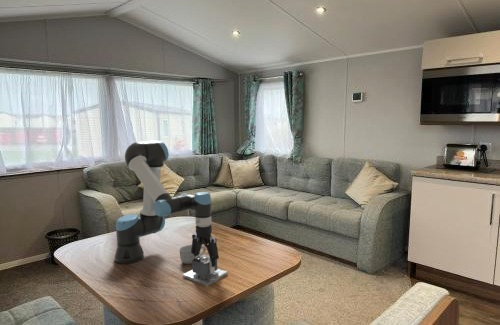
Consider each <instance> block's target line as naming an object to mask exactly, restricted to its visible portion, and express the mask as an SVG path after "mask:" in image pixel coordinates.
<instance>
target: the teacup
mask: <svg viewBox="0 0 500 325" xmlns="http://www.w3.org/2000/svg"><path fill="white" fill-rule="evenodd" d="M191 249H192V244H189V245H184V246H181V247H180V248H179V258H180V260H181V262H182V263H183V264H184V265H192V260H193V259H195V256H194V254H192V253H191ZM201 249H203V250H202V251H201ZM201 249H200V252H199V253H200V256H202V255H204V254H205V253H206V251H207V248H206V247H205V245H202V247H201ZM198 255H199V254H198Z"/></svg>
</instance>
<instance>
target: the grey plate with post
mask: <svg viewBox="0 0 500 325" xmlns="http://www.w3.org/2000/svg"><path fill="white" fill-rule="evenodd" d="M201 256H202V255H201ZM208 256H209V255H208ZM208 256H202V257H201V259H200V261H202V262H207V261H209V258H208ZM227 275H228V271H227V270H224V269H221V268H217V270H216V271H215V272H214V273H212V274H209V275H207V276H203V275H200V274H197V273H194V272H193V269H191V270H188V271H187V272H185V273H183V274H182V278H183V279H187V280H189V281H192V282H196V283H198V284H201V285H203V286H206V287H209V286H211V285H212V284H214V283H216V282H218V281H219V280H221V279H223V278H224V277H226V276H227Z"/></svg>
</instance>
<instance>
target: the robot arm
mask: <svg viewBox="0 0 500 325" xmlns="http://www.w3.org/2000/svg"><path fill="white" fill-rule="evenodd" d="M169 157H170V154H169V148H168V147H167V145H166V143H164V142H163V141H161V140H150V141H149V140H148V141H136V142H133V143H130V145H129V146H128V147H127V148H126V151H125V154H124V160H125V161H124V162H125V164H126V166H127V167H128V168H129V170H131V171H133V173H134V174H135V175H136V177H137V178H138V180H139V181H140V183H141V184H142V186H143V198H142V200H143V202H142V203H143V204H142V208H141V209H140V212H139V215H138V214H135V213H134V214H127V215H123V216H121V217H119V218H117V219H116V222H115V230H116V243H117V245H116V250H115V254H114V262H115V261H116V262H115V263H117V262H118V264H121V263H127V264H132V263H136V262H139V261H141V260H142V259H144V257H145V254H144V252H145V251H144V250H143V247H142V246H141V240H140V239H141V238H142V237H145V236H148V235H152V234H156V233H159V232H161V231H162V230H163V229H164V228H165V225H166V218H165V217H167V216H170V215H174V214H178V213H182V212H186V211H194V212H195V213H194V214H195V218H194V219H195V225H196V226H195V233H194V234H192V235H191V238H192V240H191V245H192V249H191V253H192V254H194V256H195V258H198V257H200V253H201V250H200V249H202V248H201V247H202V246H204V247H205V248H206V251H207V254H208V256H210V259H211V260H209V264H210V274H212V273H214V272H215V260H216V259H217V260H218V259H219V258H220V257H219V252H218V251H219V250H218V246H217V245H218V244H217V238H216V237H214V238H213V237H212V232H213V230H212V229H213V227H212V225H213V224H212V223H213V222H212V221H213V220H212V198H211V193H210V192H207V191H198V192H195V194H192V193H187V192H184V193H181V194H179V196H174V197H172V196H171V195H170V193H169V192H168V190H167V189H166V188H165V187H164V185H163V184H162V182H161V169H162V168H163V167H164V165H165V162H167V160H169ZM199 252H200V253H199ZM198 254H199V255H198Z"/></svg>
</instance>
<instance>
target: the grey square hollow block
mask: <svg viewBox="0 0 500 325" xmlns="http://www.w3.org/2000/svg"><path fill="white" fill-rule="evenodd" d="M202 256H208V258H209V260H211V259H210V256H209V254H205V253H204V254H202V255H201V256H200V257H198V258H195V259H193V260H192V264H191V266H192V270H193V272H194V273H197V274H200V275H203V276H207V275H209V274H210V264H209V261H207V262H202V261H200V259H201V257H202ZM217 269H218V259H216V260H215V271H216V270H217Z"/></svg>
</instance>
